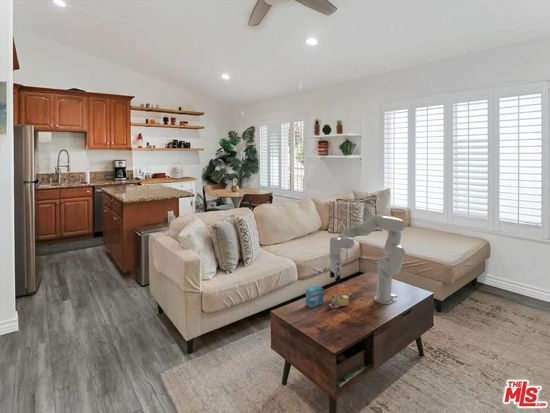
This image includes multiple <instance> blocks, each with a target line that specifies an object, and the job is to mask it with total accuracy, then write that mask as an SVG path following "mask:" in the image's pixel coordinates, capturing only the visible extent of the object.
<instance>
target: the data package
mask: <svg viewBox="0 0 550 413" xmlns="http://www.w3.org/2000/svg"><path fill="white" fill-rule="evenodd" d="M323 303H324V288H323V287H322V286H319V285H316V286H313V287H309V288H307V289H306V290H305V306H307V307H309V308H311V309H312V308H314V307H317V306H321V305H322V304H323Z"/></svg>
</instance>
